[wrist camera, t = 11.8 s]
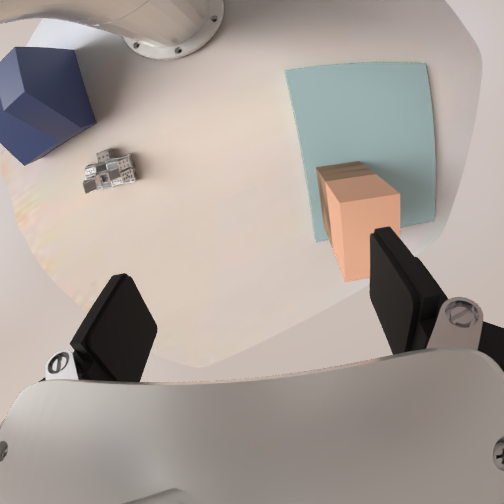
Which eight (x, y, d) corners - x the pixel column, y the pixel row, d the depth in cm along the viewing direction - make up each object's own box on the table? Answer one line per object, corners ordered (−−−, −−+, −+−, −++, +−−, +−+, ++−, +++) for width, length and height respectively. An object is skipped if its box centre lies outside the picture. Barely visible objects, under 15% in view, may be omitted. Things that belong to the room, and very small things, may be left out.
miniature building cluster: (138, 114, 31) (109, 120, 25) (150, 178, 36) (126, 198, 29) (81, 131, 32) (48, 142, 26) (95, 189, 36) (66, 210, 30)
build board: (284, 71, 28) (285, 70, 27) (421, 63, 26) (425, 63, 25) (314, 237, 39) (316, 242, 38) (430, 217, 37) (434, 221, 36)
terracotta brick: (325, 181, 28) (339, 203, 23) (376, 174, 27) (400, 193, 22) (332, 250, 32) (345, 282, 27) (378, 242, 31) (398, 271, 26)
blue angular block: (40, 158, 33) (-13, 185, 23) (19, 92, 28) (-37, 105, 17) (96, 123, 31) (39, 141, 21) (74, 50, 26) (15, 46, 15)
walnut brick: (315, 167, 33) (325, 181, 28) (359, 161, 32) (376, 174, 27) (323, 227, 37) (333, 250, 32) (363, 220, 36) (379, 242, 31)
